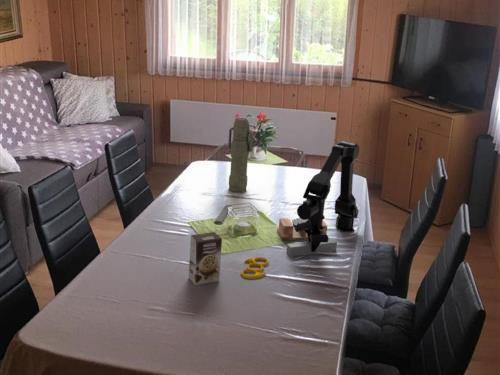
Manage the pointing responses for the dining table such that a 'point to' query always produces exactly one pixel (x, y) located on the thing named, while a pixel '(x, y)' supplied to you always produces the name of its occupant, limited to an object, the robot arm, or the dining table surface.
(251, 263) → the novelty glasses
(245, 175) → the thermos
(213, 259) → the brown food box
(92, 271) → the dining table surface
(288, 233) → the display stand
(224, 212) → the gray half cylinder
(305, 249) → the grey long bar
